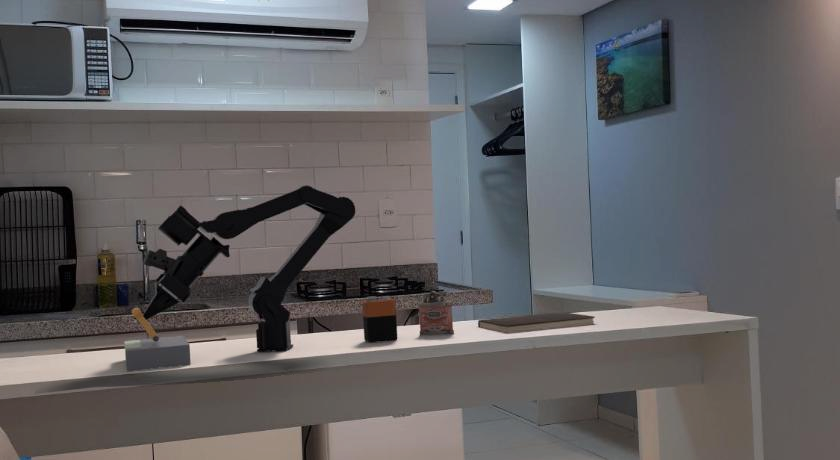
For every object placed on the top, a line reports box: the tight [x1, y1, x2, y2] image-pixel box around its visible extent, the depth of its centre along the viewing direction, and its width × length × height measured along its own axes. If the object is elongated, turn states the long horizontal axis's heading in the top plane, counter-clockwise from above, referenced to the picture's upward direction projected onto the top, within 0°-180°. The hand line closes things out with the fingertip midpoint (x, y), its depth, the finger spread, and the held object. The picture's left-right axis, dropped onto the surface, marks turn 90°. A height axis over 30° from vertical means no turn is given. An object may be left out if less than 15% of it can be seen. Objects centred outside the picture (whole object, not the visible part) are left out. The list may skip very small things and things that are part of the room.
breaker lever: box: [131, 307, 160, 342], centre depth 165 cm, size 2×4×8 cm
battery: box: [361, 295, 398, 344], centre depth 180 cm, size 4×7×10 cm, turn 108°
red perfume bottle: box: [417, 290, 455, 336], centre depth 186 cm, size 8×3×10 cm, turn 76°
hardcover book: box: [477, 311, 596, 334], centre depth 192 cm, size 16×23×2 cm
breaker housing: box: [124, 335, 191, 372], centre depth 166 cm, size 12×18×4 cm, turn 21°
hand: (144, 318), depth 165 cm, fingers closed, pressing on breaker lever
